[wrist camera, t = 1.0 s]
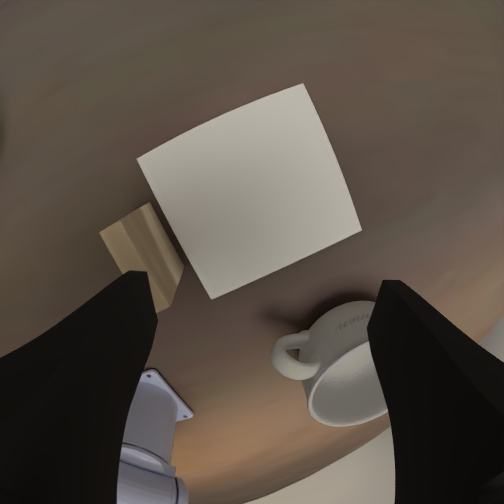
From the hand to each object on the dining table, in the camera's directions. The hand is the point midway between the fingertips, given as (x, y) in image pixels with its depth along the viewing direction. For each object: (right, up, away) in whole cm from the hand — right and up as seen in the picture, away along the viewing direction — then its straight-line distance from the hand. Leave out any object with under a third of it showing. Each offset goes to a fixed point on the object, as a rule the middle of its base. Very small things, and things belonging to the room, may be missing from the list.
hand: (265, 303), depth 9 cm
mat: (0, +6, +14) cm, 15 cm away
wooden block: (-8, +3, +14) cm, 17 cm away
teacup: (+7, -6, +19) cm, 21 cm away
